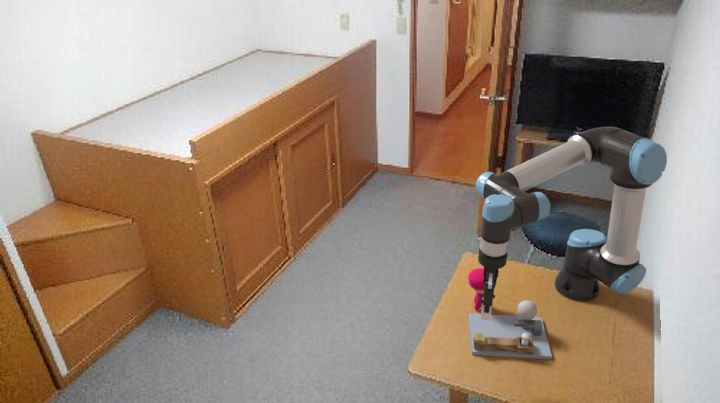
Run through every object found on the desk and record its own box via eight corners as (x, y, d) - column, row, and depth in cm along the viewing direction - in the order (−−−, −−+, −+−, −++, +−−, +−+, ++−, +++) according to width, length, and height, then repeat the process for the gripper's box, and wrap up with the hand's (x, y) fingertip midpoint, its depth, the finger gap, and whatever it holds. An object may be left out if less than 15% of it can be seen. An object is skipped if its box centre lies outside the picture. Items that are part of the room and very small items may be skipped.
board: (540, 319, 183) (543, 304, 180) (551, 359, 167) (554, 343, 164) (468, 316, 185) (469, 300, 182) (472, 354, 170) (473, 338, 166)
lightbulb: (534, 336, 176) (538, 309, 171) (514, 334, 177) (518, 306, 172) (533, 324, 181) (537, 297, 176) (514, 322, 182) (518, 295, 177)
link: (530, 343, 171) (532, 334, 170) (533, 354, 167) (534, 345, 165) (473, 340, 173) (474, 331, 171) (474, 350, 169) (475, 342, 167)
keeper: (538, 333, 177) (541, 320, 174) (540, 338, 175) (542, 325, 172) (511, 332, 178) (513, 319, 175) (512, 337, 176) (514, 324, 173)
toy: (491, 314, 186) (496, 279, 178) (467, 314, 186) (470, 279, 179) (487, 299, 193) (491, 264, 186) (463, 299, 193) (466, 264, 186)
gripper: (480, 235, 152) (473, 301, 164) (477, 262, 141) (470, 331, 152) (508, 238, 150) (499, 305, 162) (507, 265, 139) (498, 335, 151)
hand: (485, 317), depth 157 cm, fingers closed
